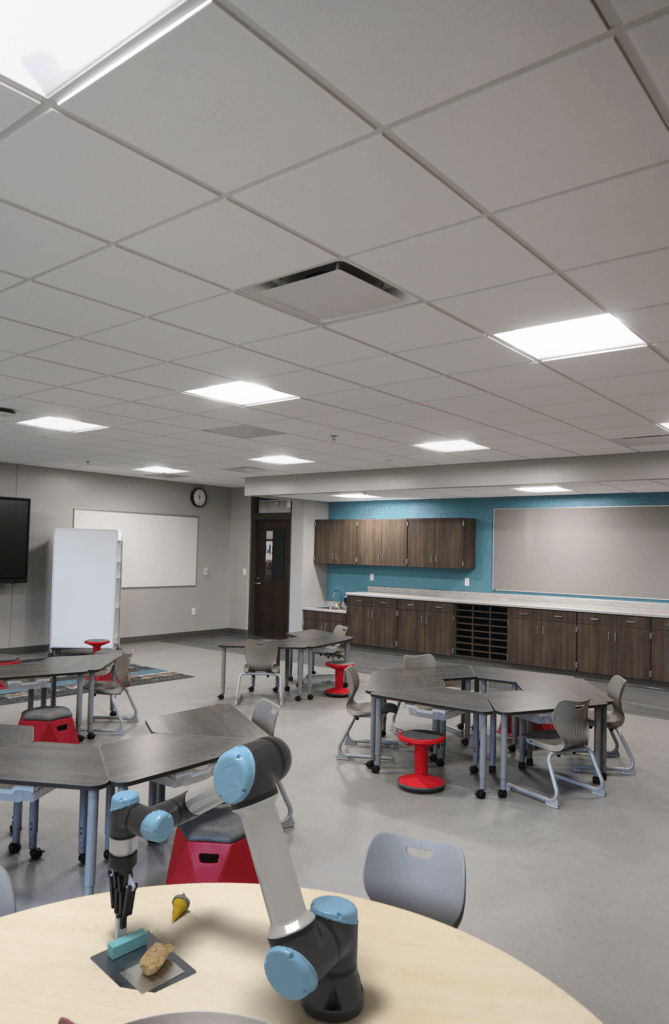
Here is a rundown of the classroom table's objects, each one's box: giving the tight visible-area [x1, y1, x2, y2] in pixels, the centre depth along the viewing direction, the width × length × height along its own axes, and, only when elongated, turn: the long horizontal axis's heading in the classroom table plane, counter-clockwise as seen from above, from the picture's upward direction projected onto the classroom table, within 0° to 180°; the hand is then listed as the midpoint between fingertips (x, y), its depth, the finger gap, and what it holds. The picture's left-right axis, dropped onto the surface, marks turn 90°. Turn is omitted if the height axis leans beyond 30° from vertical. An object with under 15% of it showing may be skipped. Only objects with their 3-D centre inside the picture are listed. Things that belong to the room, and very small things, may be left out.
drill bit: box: [171, 892, 191, 924], centre depth 194 cm, size 5×5×10 cm
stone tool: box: [139, 942, 176, 976], centre depth 168 cm, size 9×7×10 cm
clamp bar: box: [107, 927, 148, 960], centre depth 175 cm, size 3×10×3 cm, turn 135°
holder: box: [90, 930, 197, 995], centre depth 169 cm, size 24×17×1 cm
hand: (120, 938), depth 178 cm, fingers closed
